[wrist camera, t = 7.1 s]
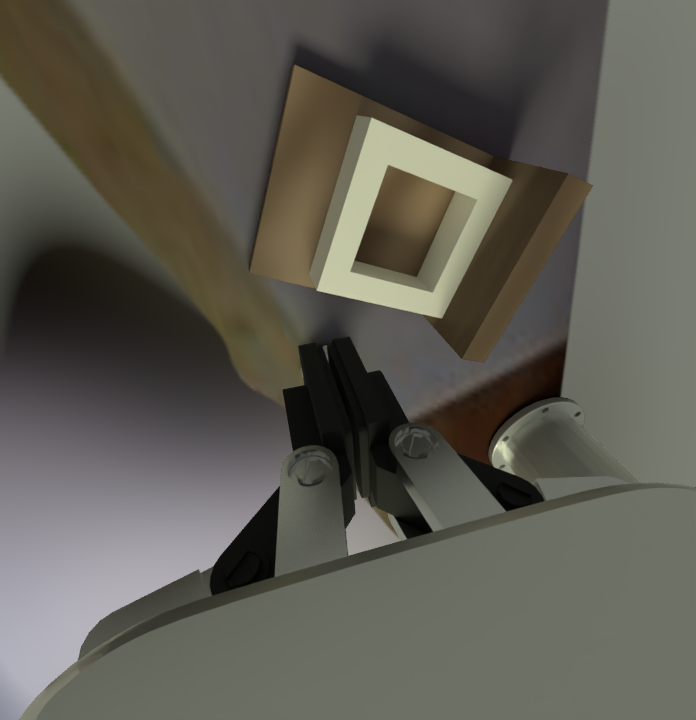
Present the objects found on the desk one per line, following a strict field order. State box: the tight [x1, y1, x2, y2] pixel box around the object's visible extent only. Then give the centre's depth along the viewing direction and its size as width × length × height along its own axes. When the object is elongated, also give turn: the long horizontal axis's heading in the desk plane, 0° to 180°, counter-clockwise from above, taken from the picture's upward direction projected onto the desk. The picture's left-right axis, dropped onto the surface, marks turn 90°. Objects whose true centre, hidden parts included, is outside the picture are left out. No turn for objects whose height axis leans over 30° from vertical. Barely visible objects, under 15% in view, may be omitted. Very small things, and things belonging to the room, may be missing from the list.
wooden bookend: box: [249, 65, 593, 363], centre depth 24 cm, size 16×12×8 cm
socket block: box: [309, 115, 513, 318], centre depth 25 cm, size 10×10×3 cm
